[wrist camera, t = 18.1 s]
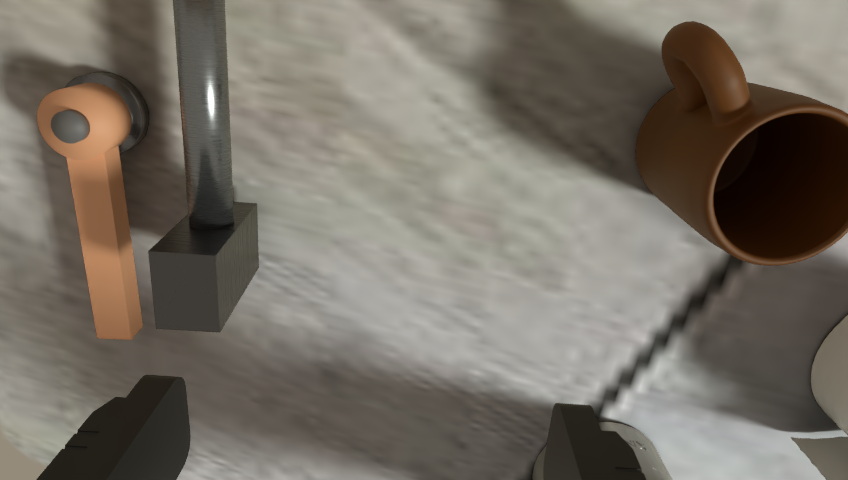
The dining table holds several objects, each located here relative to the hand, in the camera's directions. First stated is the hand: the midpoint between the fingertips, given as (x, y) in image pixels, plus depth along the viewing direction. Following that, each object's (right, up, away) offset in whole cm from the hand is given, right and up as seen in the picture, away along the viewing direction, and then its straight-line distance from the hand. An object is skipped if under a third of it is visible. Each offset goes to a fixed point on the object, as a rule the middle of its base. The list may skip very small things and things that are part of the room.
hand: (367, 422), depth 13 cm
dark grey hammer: (-9, +10, +19) cm, 24 cm away
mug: (+16, +11, +21) cm, 29 cm away
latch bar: (-17, +6, +21) cm, 28 cm away
